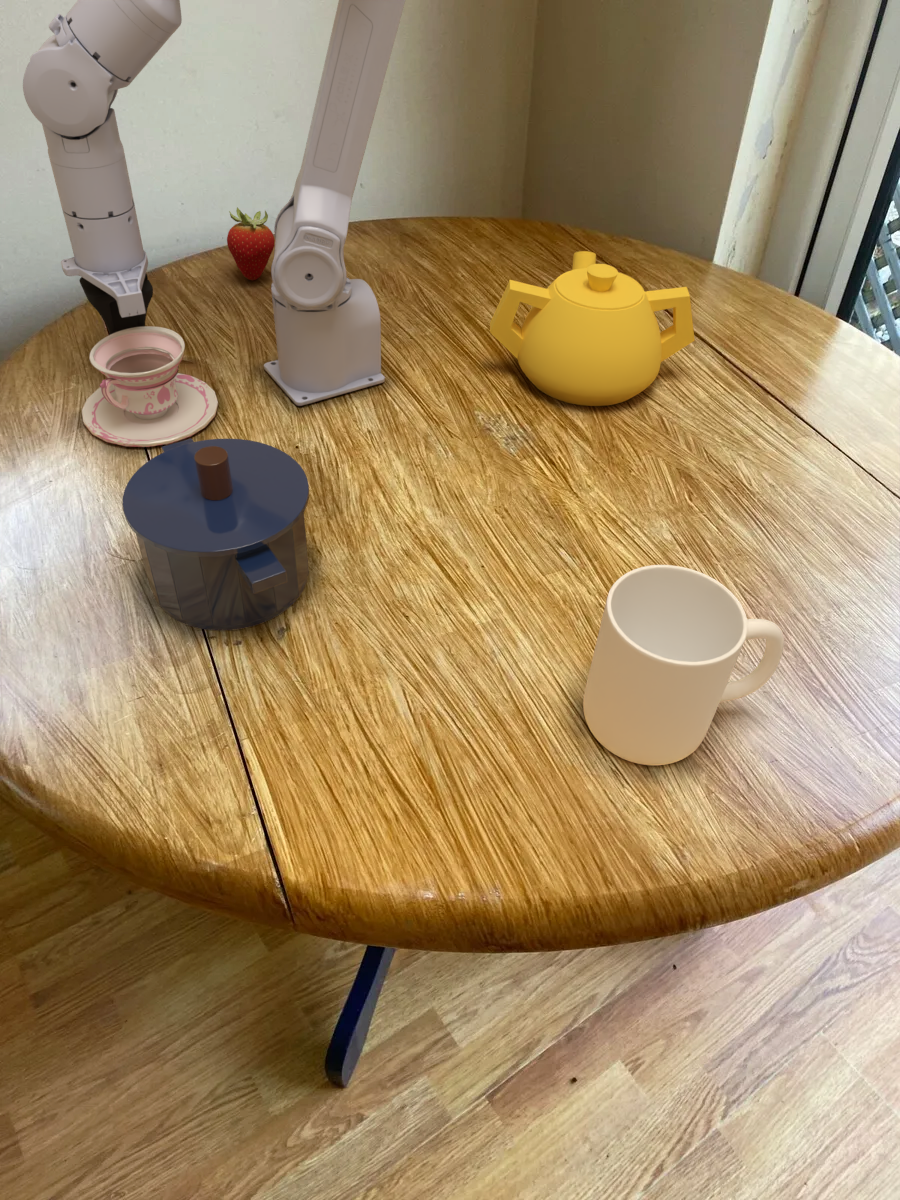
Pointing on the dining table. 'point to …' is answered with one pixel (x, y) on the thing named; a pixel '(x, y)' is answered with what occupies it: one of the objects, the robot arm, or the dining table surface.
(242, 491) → the pot lid
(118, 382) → the teacup
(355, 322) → the robot arm
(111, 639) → the dining table surface
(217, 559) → the pot
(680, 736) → the cup
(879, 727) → the dining table surface
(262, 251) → the fruit
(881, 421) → the dining table surface
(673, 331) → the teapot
